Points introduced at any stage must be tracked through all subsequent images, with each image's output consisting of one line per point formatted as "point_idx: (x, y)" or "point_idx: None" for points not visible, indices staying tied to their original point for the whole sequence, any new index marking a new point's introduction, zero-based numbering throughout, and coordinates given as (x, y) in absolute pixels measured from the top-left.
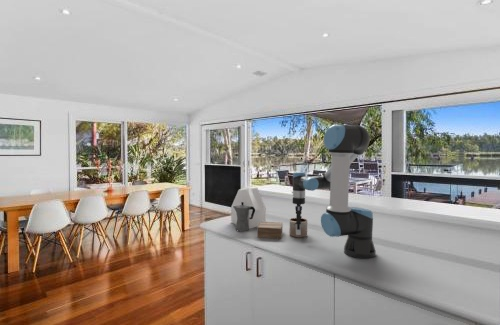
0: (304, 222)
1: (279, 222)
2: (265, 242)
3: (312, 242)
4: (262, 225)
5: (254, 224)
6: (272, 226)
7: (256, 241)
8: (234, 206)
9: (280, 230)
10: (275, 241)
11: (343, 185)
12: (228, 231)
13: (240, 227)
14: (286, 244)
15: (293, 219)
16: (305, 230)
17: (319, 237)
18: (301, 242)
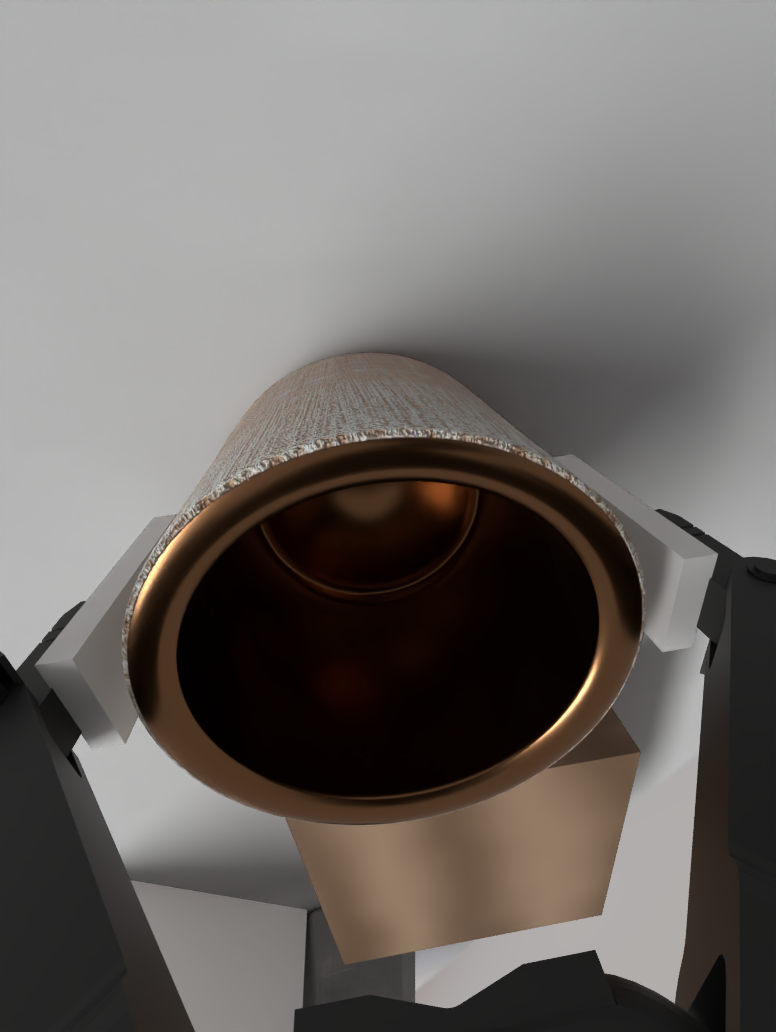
0: (587, 486)
1: (298, 842)
2: (695, 719)
3: (721, 212)
4: (516, 911)
5: (235, 932)
6: (543, 842)
7: (666, 774)
8: None
9: (623, 731)
10: (667, 663)
11: None
12: (440, 951)
13: (413, 958)
14: (772, 553)
15: (287, 765)
16: (474, 396)
17: (395, 58)
18: (711, 397)
